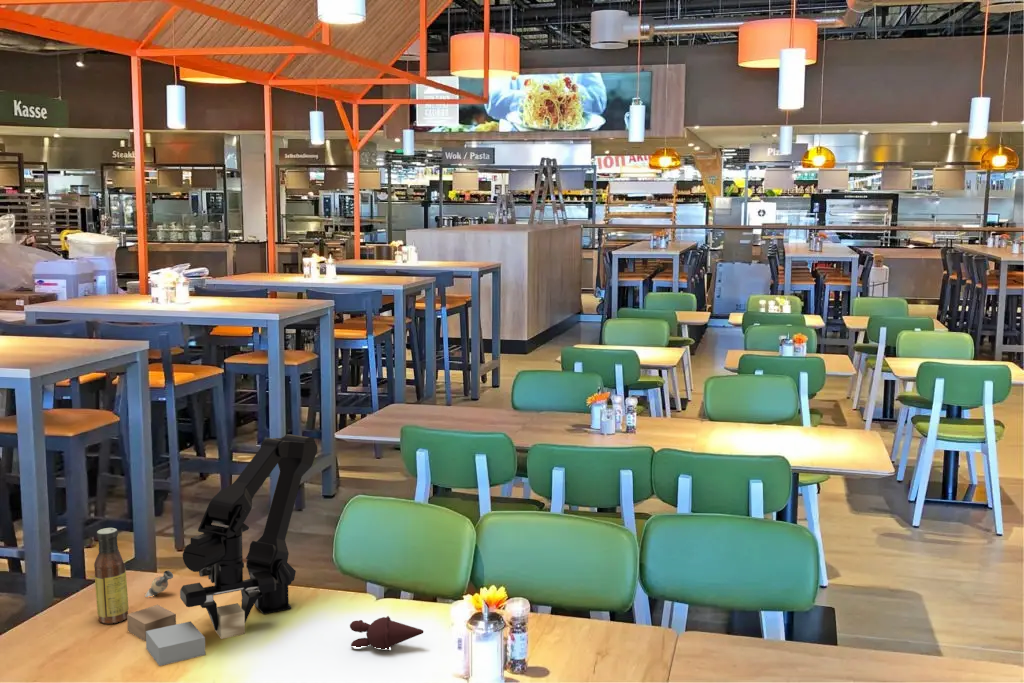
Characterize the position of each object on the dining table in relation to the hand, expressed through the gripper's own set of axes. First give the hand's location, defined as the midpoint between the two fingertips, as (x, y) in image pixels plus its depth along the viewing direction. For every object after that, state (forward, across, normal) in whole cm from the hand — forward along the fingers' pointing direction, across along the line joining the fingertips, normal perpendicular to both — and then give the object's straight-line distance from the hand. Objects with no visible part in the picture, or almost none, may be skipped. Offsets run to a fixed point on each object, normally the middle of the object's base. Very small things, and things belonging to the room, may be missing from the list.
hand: (229, 627), depth 211 cm
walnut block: (+1, +14, -8) cm, 16 cm away
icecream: (+1, -26, +23) cm, 34 cm away
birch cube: (+1, 0, 0) cm, 1 cm away
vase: (+1, +8, -26) cm, 27 cm away
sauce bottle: (+1, +20, -18) cm, 27 cm away
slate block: (+1, +12, +4) cm, 13 cm away
